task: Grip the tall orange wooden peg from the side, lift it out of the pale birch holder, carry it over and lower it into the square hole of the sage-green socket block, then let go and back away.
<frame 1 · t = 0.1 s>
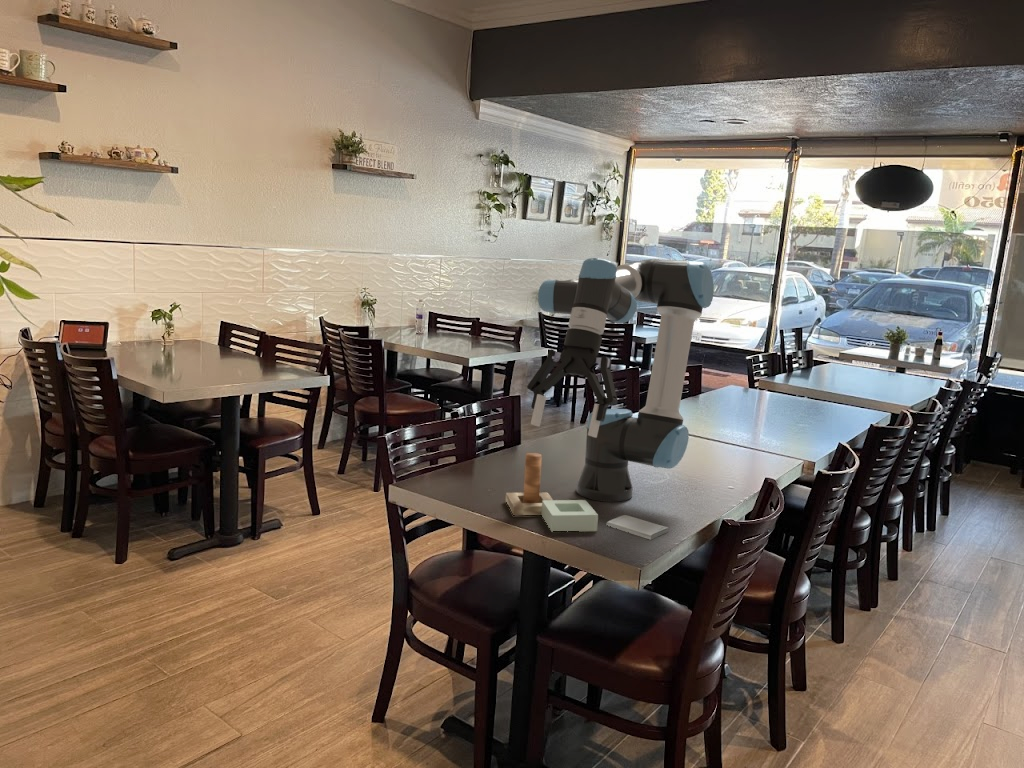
hand: (562, 431, 162), 28 cm above the table, tool tilted 20°, fingers open, 13 cm apart
socket block: (568, 523, 189), on the table
peg: (532, 482, 197), in the holder
holder: (530, 508, 198), on the table
hard drive: (637, 531, 188), on the table
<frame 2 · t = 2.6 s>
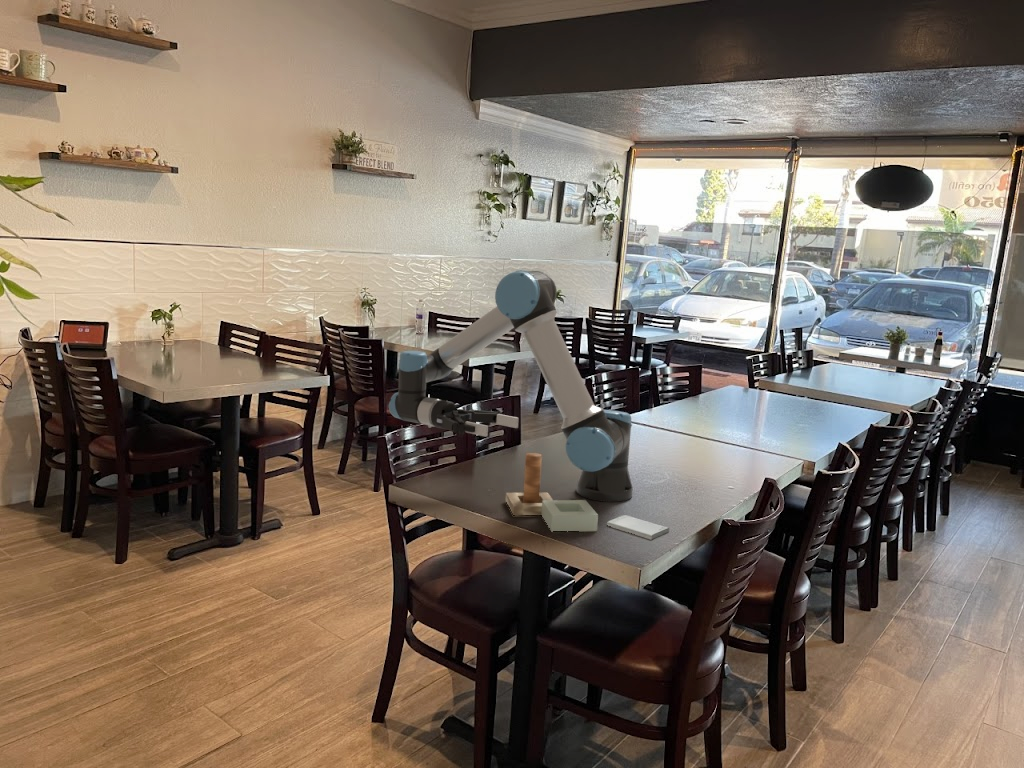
hand: (502, 427, 200), 19 cm above the table, tool horizontal, fingers open, 13 cm apart
nothing on the table moved.
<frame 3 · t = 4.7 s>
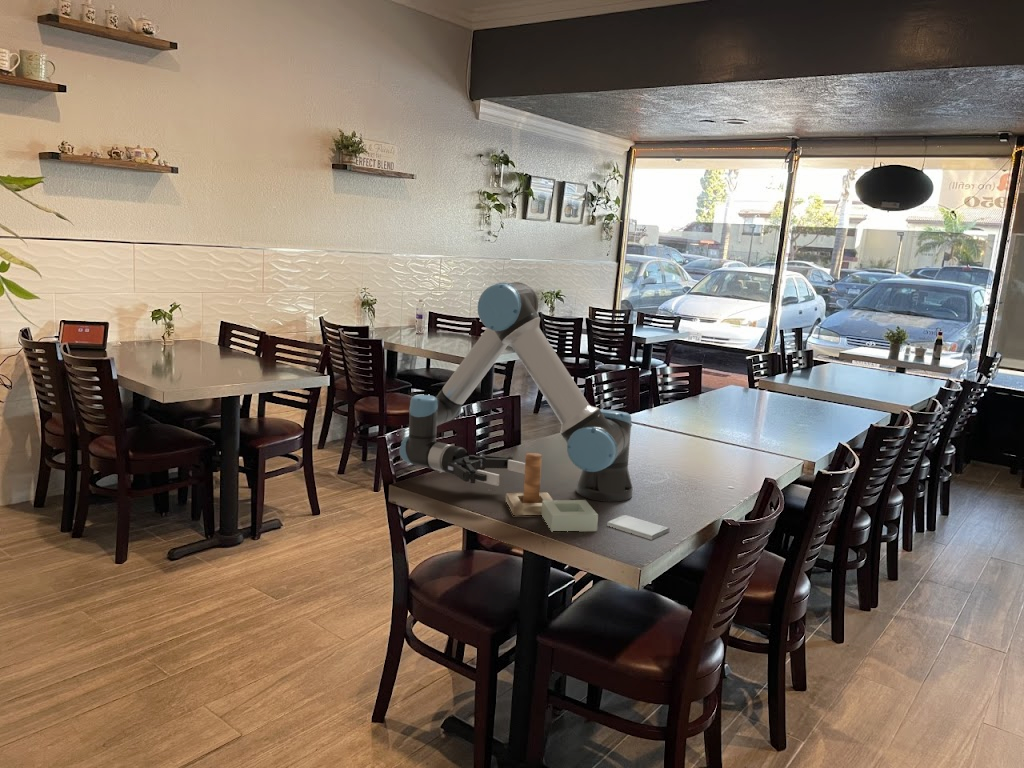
hand: (514, 474, 199), 8 cm above the table, tool horizontal, fingers open, 13 cm apart
nothing on the table moved.
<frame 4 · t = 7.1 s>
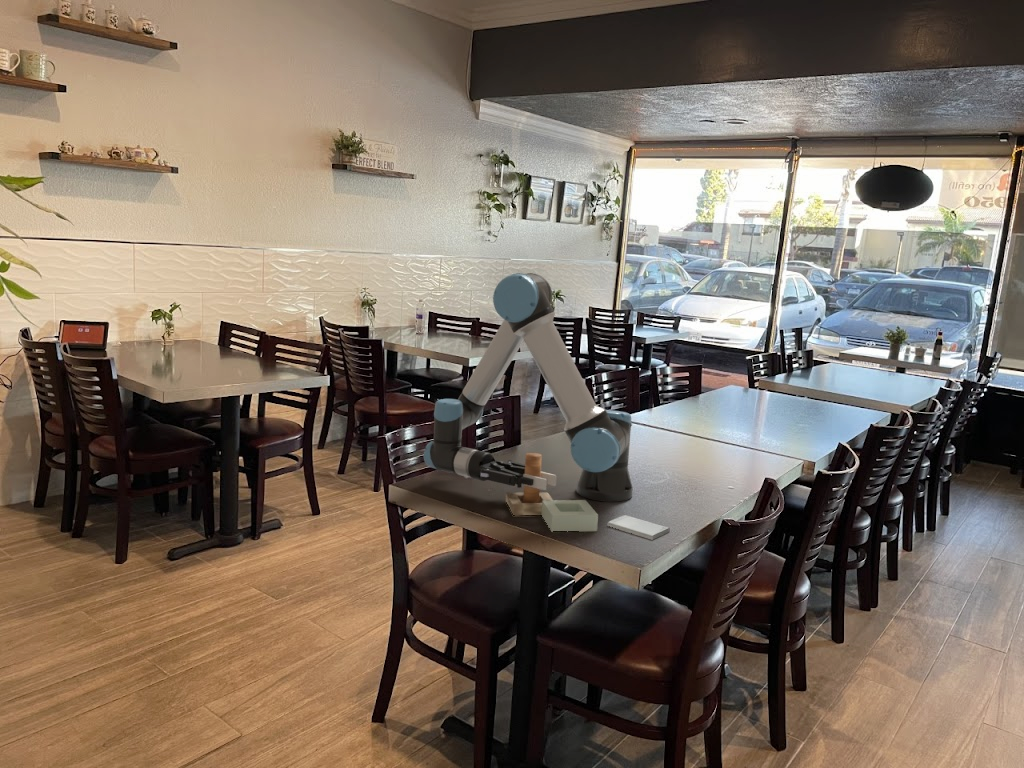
hand: (550, 482, 194), 8 cm above the table, tool horizontal, fingers closed on peg, 4 cm apart
peg: (532, 482, 197), in the holder, touching gripper
everything else where it was.
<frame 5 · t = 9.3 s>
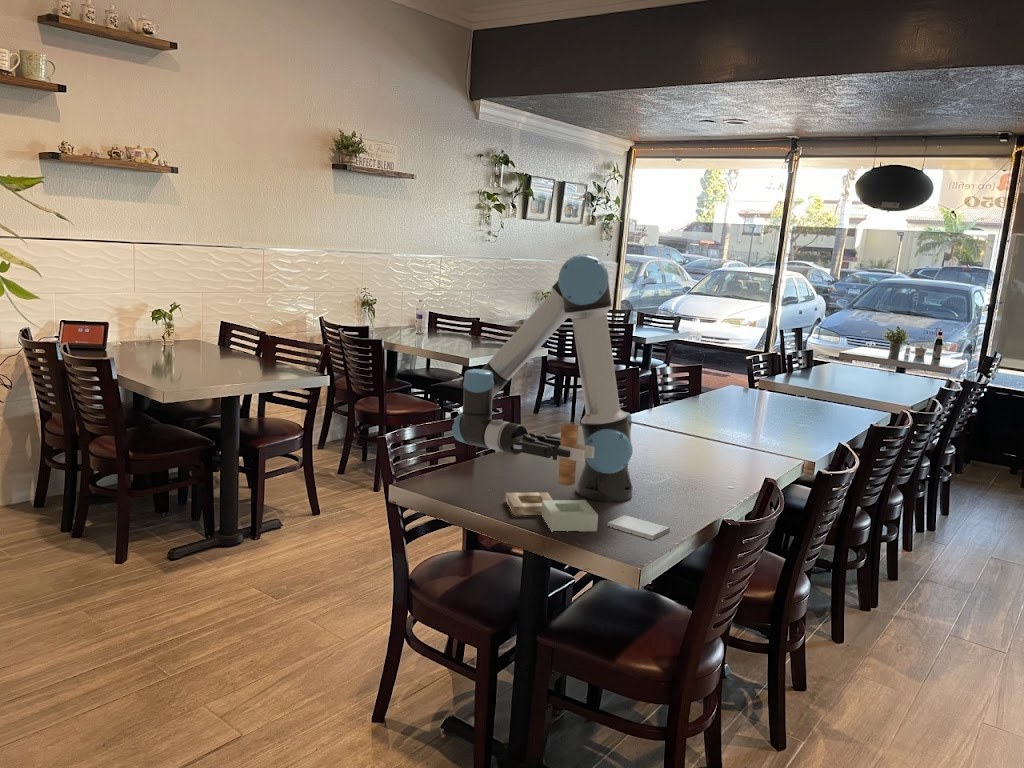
hand: (588, 454, 183), 18 cm above the table, tool horizontal, fingers closed on peg, 4 cm apart
peg: (568, 454, 186), point 17 cm above the table, touching gripper
everything else where it was.
when the fingers open (9 cm above the table, at t = 11.7 s): peg drops 1 cm, resting in socket block.
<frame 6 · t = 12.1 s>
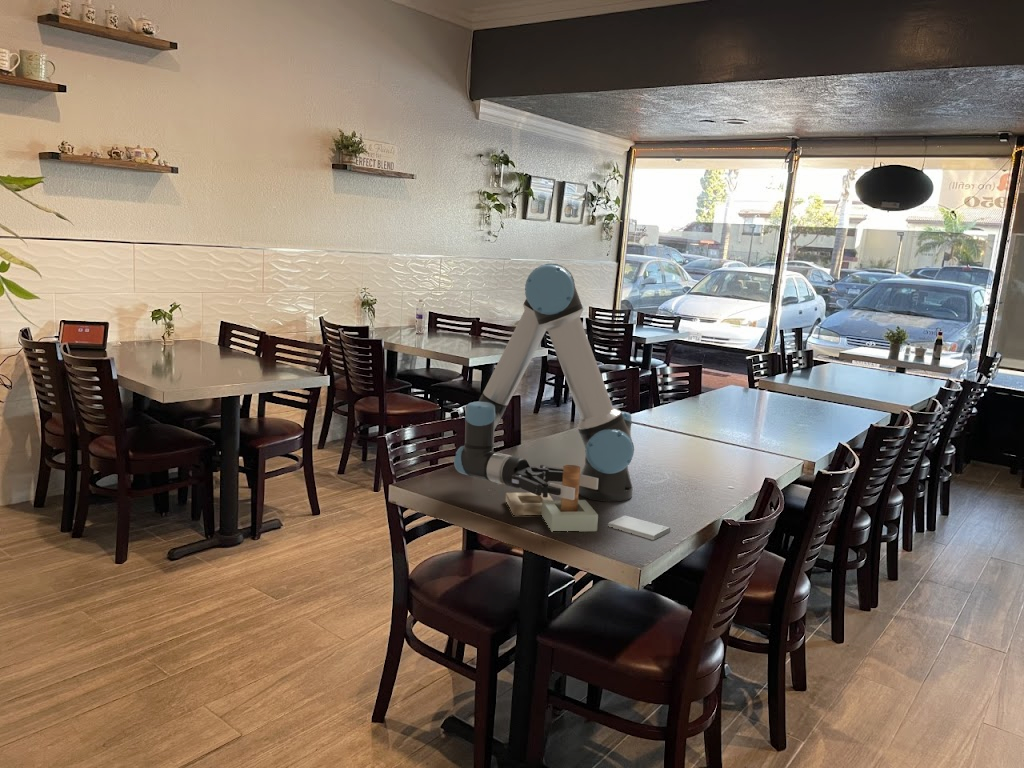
hand: (586, 489, 185), 10 cm above the table, tool horizontal, fingers open, 10 cm apart
peg: (570, 495, 187), in the socket block
everything else where it was.
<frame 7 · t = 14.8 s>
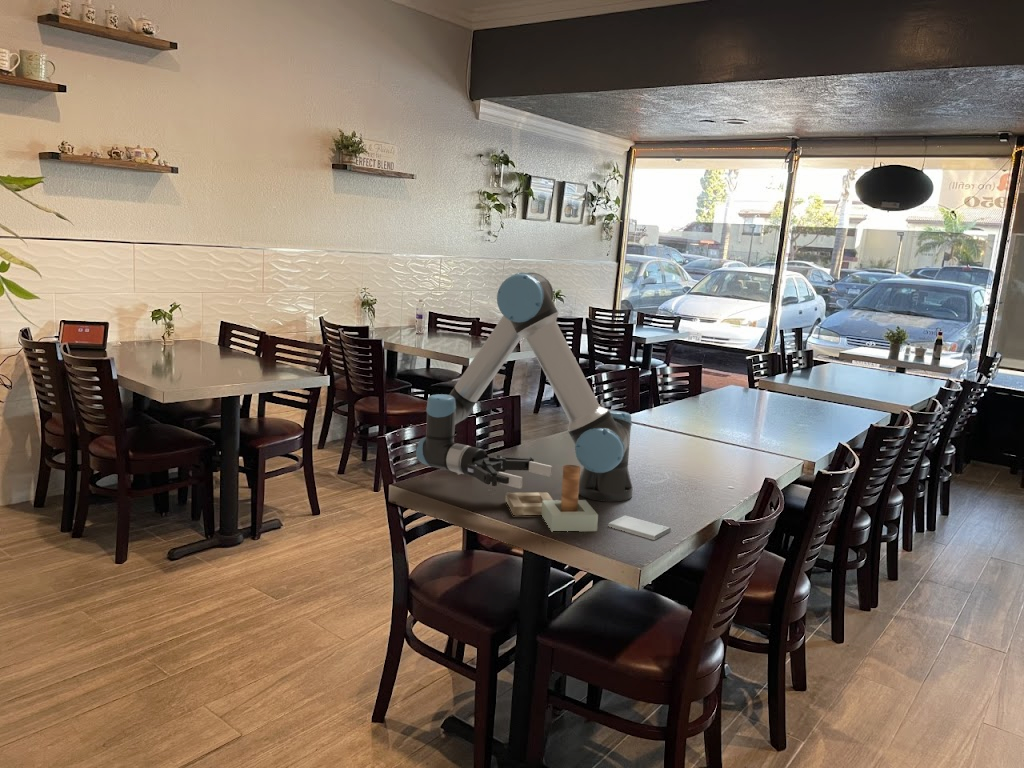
hand: (536, 477, 192), 10 cm above the table, tool horizontal, fingers open, 13 cm apart
nothing on the table moved.
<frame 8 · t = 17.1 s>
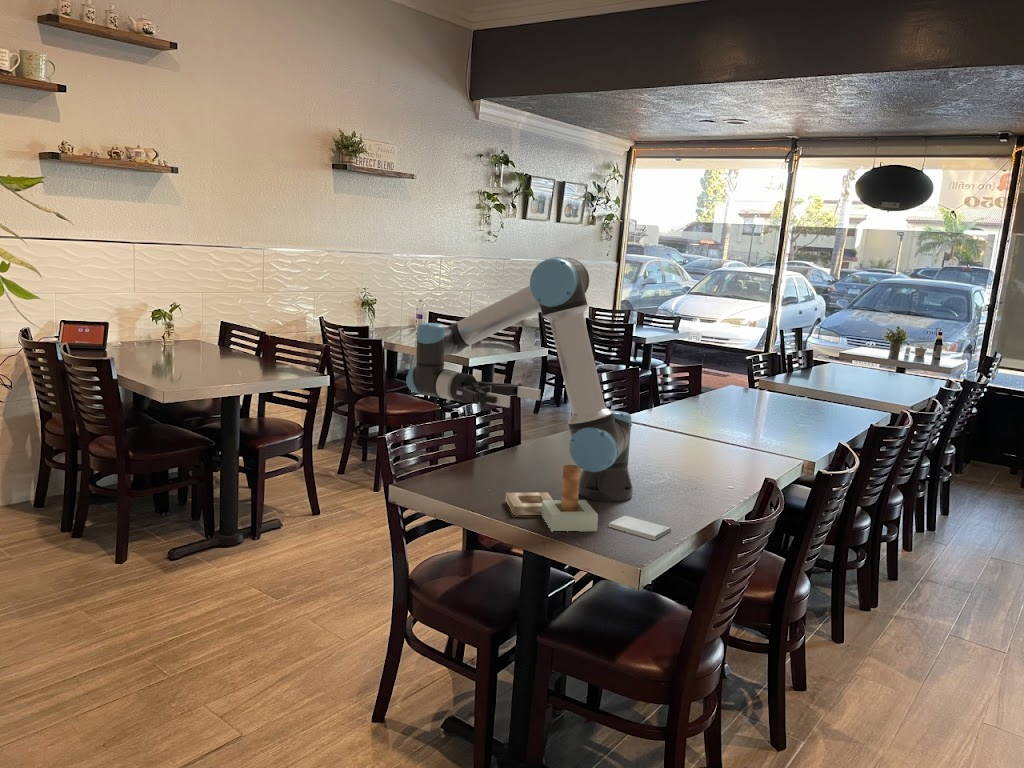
hand: (524, 398, 194), 28 cm above the table, tool horizontal, fingers open, 13 cm apart
nothing on the table moved.
at the end: peg 0.1 cm off-centre on the socket block, point 7.0 cm above the socket block's base; peg tilted 0°; the gripper is holding nothing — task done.
